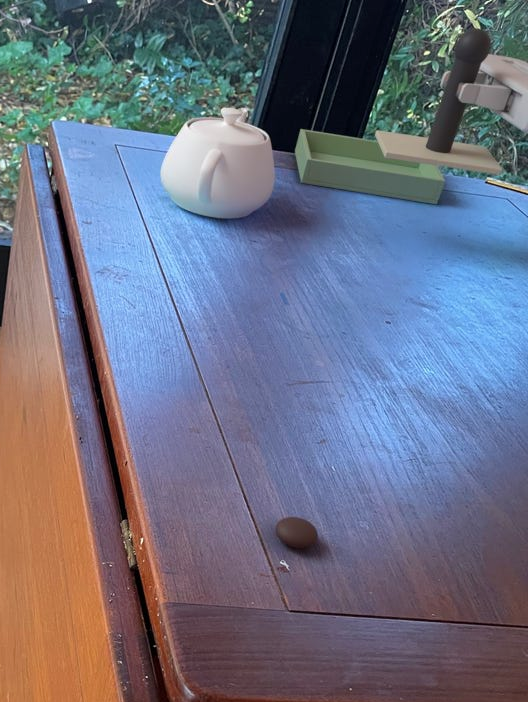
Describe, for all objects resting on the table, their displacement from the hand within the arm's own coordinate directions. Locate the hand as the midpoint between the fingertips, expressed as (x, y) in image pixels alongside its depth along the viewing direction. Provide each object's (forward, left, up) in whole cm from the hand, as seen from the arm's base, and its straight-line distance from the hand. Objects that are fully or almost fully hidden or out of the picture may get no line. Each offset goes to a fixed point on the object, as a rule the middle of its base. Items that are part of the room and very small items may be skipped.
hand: (451, 86), depth 109 cm
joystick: (-1, 0, -7) cm, 7 cm away
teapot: (+23, -2, -17) cm, 28 cm away
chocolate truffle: (+17, +67, -17) cm, 71 cm away
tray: (+2, -23, -17) cm, 28 cm away
